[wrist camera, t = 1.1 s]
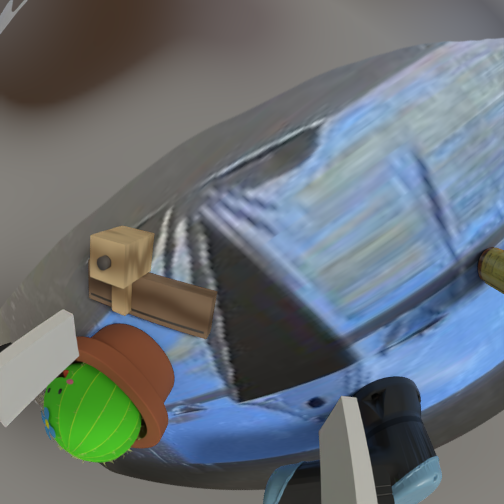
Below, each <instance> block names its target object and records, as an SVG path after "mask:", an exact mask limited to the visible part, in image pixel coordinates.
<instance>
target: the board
mask: <svg viewBox="0 0 504 504" xmlns="http://www.w3.org/2000/svg"><path fill="white" fill-rule="evenodd" d="M88 273H89V298H91V299H93V300H96V301H98V302H101V303H103V304H106V305H108V306H110V307H112V285H111V284H108V283H106V282H103V281H100V280H98V279H95V278H92V277H90V260H88ZM216 295H217V291H214V290H210V289H206V288H202V287H199V286H195V285H191V284H188V283H184V282H180V281H177V280H173V279H170V278H166V277H163V276H159V275H156V274H153V273H149V272H148V273H147V274H145V275H144V276H142V277H141V278H139V279H138V280H136V281H135V282H133V283H132V297H131V311H130V312H129V314H131V315H134V316H137V317H139V318H142V319H145V320H148V321H151V322H153V323H156V324H159V325H162V326H165V327H168V328H171V329H174V330H177V331H181V332H184V333H187V334H190V335H194V336H197V337H200V338H204V339H207V337H208V335H209V333H210V331H211V325H212V319H213V313H214V307H215V301H216Z"/></svg>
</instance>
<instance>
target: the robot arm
mask: <svg viewBox="0 0 504 504" xmlns="http://www.w3.org/2000/svg"><path fill="white" fill-rule="evenodd" d="M77 357H79V352H78V346H77V340H76V333H75V325H74V317H73V314H71V313H70V312H68V311H66V310H64V309H63V310H61V311H60V312H58V313H57V314H55V315H54V316H52V317H51V318H49V319H48V320H46V321H45V322H43V323H42V324H40V325H39V326H37V327H36V328H34V329H33V330H31V331H30V332H28V333H27V334H26V335H24V336H23V337H21V338H20V339H18V340H17V341H16V342H14V343H13V344H12V343H11V342H10V343H7V344H4V345H2V346H0V422H1V423H2V424H3V425H4V426H5V427H7V426H8V425H9V423H10V422H11V421H12V420H13V419H14V418H15V417H16V416H17V415H18V414H19V413H20V412H21V411H22V410H23V409H24V408H25V407H26V406H27V405H28V404H29V403H30V402H31V401H32V400H33V399H34V398H35V397H36V396H37V395H38V394H39V393H41V392H42V391H43V390H44V389H45V388H46V387H47V386H48V385H49V384H50V383H51V382H52V381H53V380H54V379H55V378H56V377H57V376H58V375H59V374H60V373H61V372H62V371H64V370H65V369H66V368H67V367H68V366H69V365H70V364H71V363H72V362H73V361H74V360H75V359H76V358H77ZM420 402H421V397H420V393H419V390H418V388H417V386H416V385H415V383H414V382H413V381H412V380H410V379H408V378H405V377H388V378H384V379H381V380H378V381H375V382H373V383H371V384H369V385H367V386H365V387H364V388H362V389H361V390H360V391H358V392H357V393H356V394H355V395H354V396H353V397H346V396H341V397H340V399H339V401H338V402H337V404H336V405H335V407H334V409H333V410H332V412H331V414H330V415H329V417H328V418H327V420H326V421H325V423H324V424H323V426H322V427H321V429H320V430H319V446H320V460H317V461H311V462H305V461H303V462H300V463H298V464H292V465H286V466H282V467H279V468H278V469H276V470H275V471H274V472H273V474H272V475H271V477H270V479H269V481H268V483H267V486H266V489H265V493H264V499H263V504H417V503H419V502H420V501H422V500H423V499H425V498H426V497H427V496H429V495H430V494H431V493H432V492H433V491H434V490H435V489H436V488H437V487H438V485H439V484H440V482H441V479H442V472H441V469H440V465H439V458H438V457H437V456H436V453H435V451H434V448H433V446H432V443H431V441H430V438H429V436H428V434H427V431H426V429H425V427H424V424H423V422H422V420H421V404H420Z"/></svg>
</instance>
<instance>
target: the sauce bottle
mask: <svg viewBox="0 0 504 504" xmlns="http://www.w3.org/2000/svg"><path fill="white" fill-rule="evenodd" d="M478 273H479V277H480V278H481V279H482V280H483V281H485V283H486V284H488V285H490V286H491V287H493V288H495V289H496V290H498V291H500V292H501V293H503V294H504V250H502V249H499V248H494V247H491V248H488V249H486V250H485V251H484V252H483V253H482V255H481V257H480V259H479V262H478Z"/></svg>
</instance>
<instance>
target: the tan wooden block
mask: <svg viewBox="0 0 504 504" xmlns="http://www.w3.org/2000/svg"><path fill="white" fill-rule="evenodd" d="M153 241H154V233H150V232H146V231H142V230H138V229H134V228H130V227H126V226H120V227H116V228H113V229H109V230H106V231H103V232H99V233H96V234H93V235H91V240H90V277H92V278H95V279H98V280H100V281H103V282H106V283H108V284H111V285H112V311H114V312H116V313H119V314H121V315H124V316H125V315H127V314H128V313H129V312H130V311H131V297H132V283H133V282H135V281H136V280H138V279H139V278H141V277H142V276H144V275H145V274H147V273H148V272H150V271H151V261H152V250H153Z"/></svg>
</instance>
